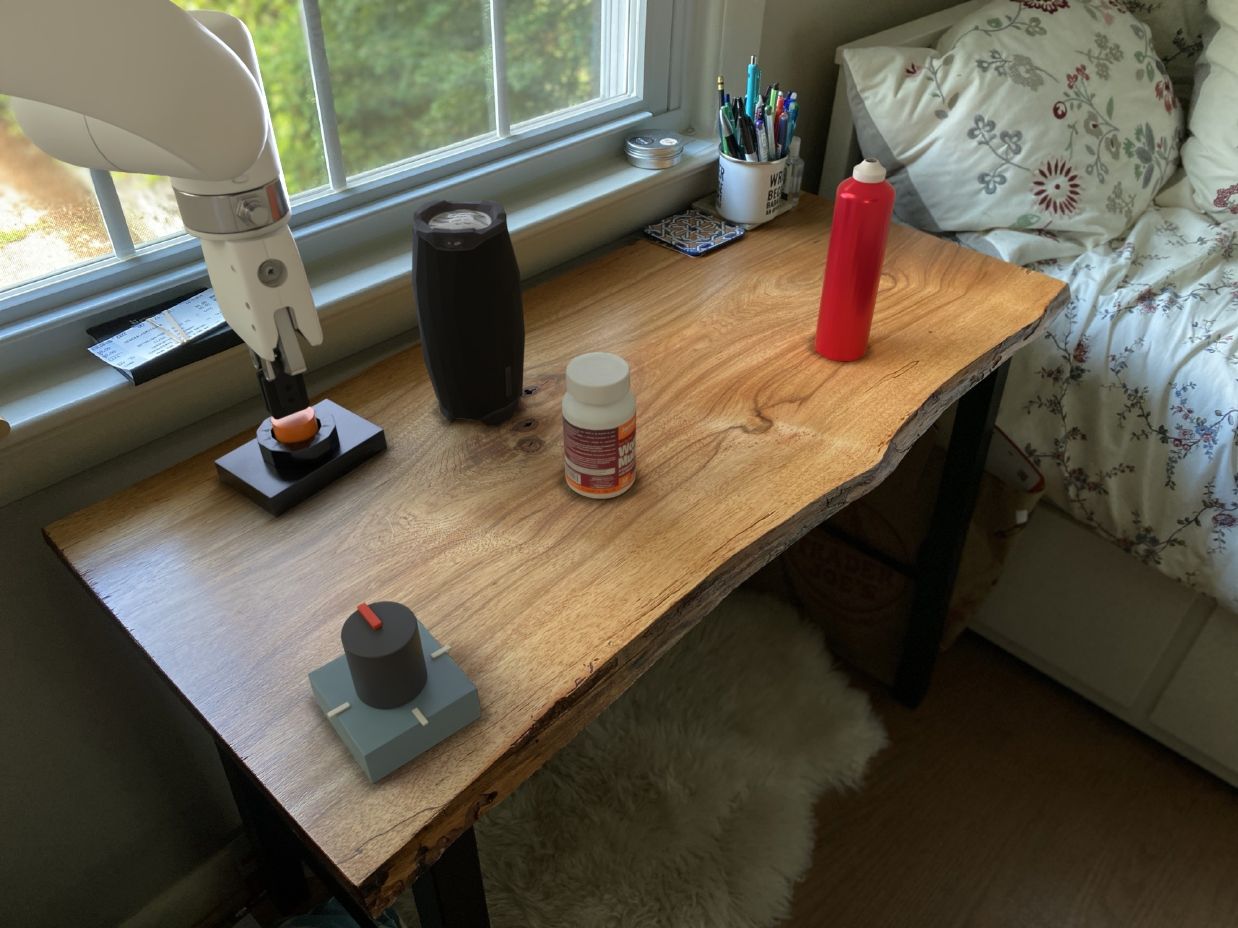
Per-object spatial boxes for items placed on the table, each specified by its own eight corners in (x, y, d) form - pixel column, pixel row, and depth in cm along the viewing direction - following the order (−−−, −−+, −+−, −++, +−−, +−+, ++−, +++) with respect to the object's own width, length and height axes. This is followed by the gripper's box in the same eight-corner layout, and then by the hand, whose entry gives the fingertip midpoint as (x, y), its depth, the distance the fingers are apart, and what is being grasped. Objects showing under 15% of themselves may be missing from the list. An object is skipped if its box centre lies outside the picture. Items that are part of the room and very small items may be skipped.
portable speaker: (421, 396, 91) (389, 205, 79) (510, 372, 94) (493, 185, 82) (449, 443, 85) (420, 243, 73) (543, 416, 88) (531, 220, 76)
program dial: (440, 683, 60) (430, 628, 57) (376, 722, 58) (362, 666, 54) (404, 641, 63) (392, 586, 60) (342, 676, 60) (326, 621, 57)
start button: (292, 449, 79) (288, 433, 78) (266, 434, 80) (261, 417, 79) (327, 429, 81) (323, 413, 80) (301, 415, 83) (296, 398, 81)
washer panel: (369, 792, 57) (360, 762, 55) (308, 701, 63) (298, 671, 61) (490, 716, 62) (485, 686, 60) (423, 638, 67) (417, 607, 65)
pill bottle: (633, 503, 79) (634, 391, 72) (561, 500, 79) (555, 388, 72) (637, 458, 83) (638, 349, 76) (568, 455, 84) (564, 347, 77)
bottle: (803, 341, 99) (829, 156, 87) (844, 330, 101) (876, 146, 89) (834, 366, 95) (866, 175, 83) (877, 353, 97) (914, 165, 85)
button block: (276, 518, 77) (265, 481, 75) (220, 481, 81) (207, 444, 79) (387, 448, 85) (380, 412, 82) (331, 417, 88) (322, 382, 86)
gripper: (327, 220, 65) (370, 433, 76) (244, 161, 74) (293, 359, 85) (221, 249, 61) (282, 469, 72) (147, 183, 70) (212, 388, 81)
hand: (288, 409), depth 79 cm, fingers closed
